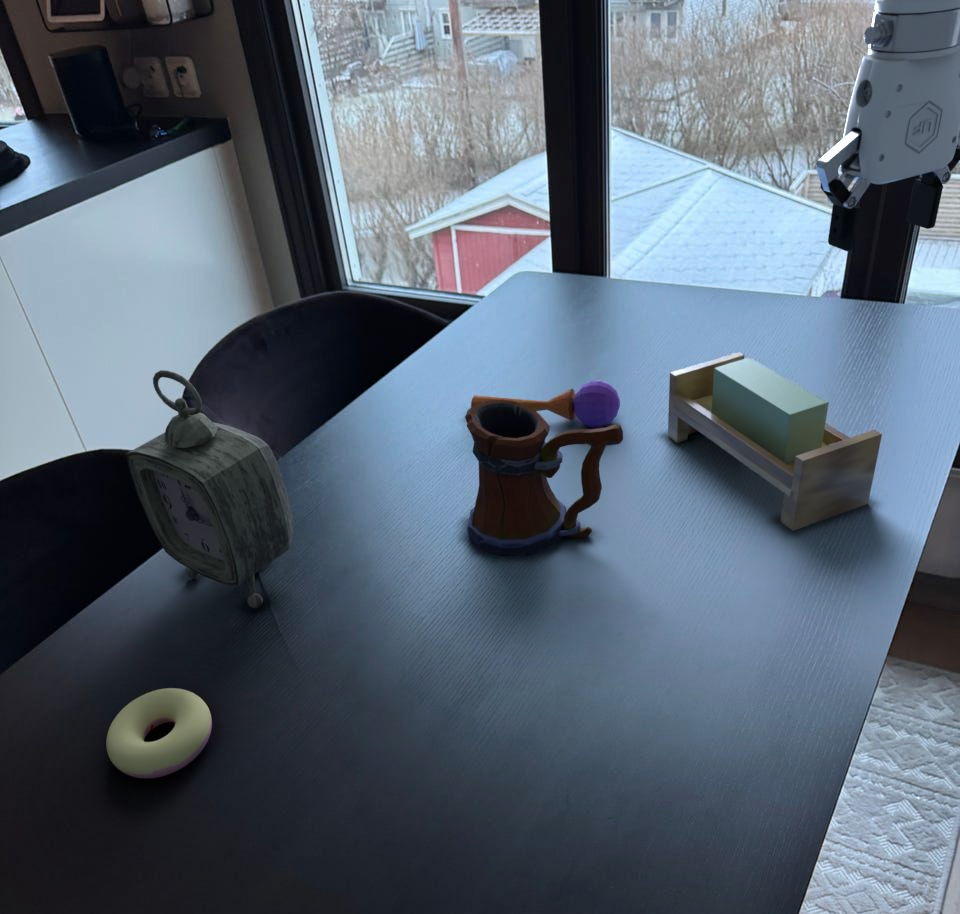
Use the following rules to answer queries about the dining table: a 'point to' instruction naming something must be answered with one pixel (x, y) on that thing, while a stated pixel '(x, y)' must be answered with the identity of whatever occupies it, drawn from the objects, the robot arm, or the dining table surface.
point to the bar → (769, 408)
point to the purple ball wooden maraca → (575, 403)
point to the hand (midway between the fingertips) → (880, 236)
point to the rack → (805, 482)
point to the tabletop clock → (212, 495)
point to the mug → (527, 478)
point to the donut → (167, 751)
